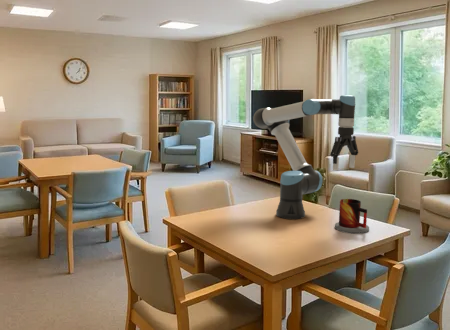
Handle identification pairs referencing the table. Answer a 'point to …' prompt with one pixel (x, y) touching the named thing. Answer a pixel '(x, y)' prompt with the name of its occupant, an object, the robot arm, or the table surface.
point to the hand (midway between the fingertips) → (343, 169)
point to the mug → (351, 214)
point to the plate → (352, 229)
